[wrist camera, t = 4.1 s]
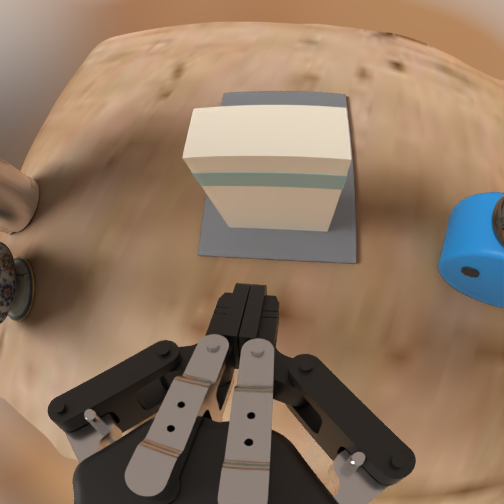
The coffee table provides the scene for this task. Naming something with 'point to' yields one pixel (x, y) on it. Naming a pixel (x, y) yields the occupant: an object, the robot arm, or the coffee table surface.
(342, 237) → the mat
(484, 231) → the alarm clock
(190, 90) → the coffee table surface
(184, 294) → the coffee table surface
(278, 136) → the box
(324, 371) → the robot arm
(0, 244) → the apothecary jar
